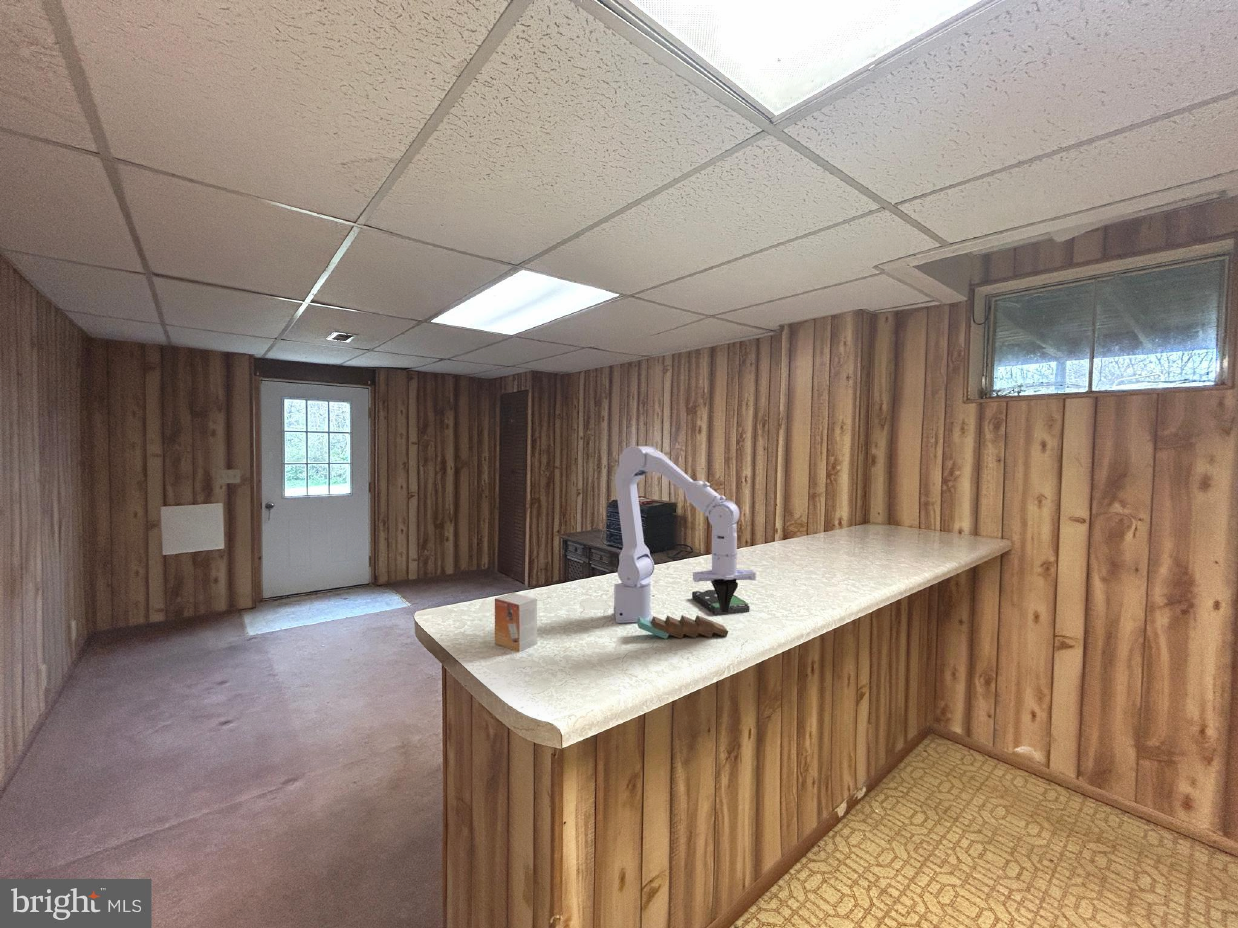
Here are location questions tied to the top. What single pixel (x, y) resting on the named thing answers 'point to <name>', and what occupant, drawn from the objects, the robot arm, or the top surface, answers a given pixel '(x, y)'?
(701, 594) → the disk drive
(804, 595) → the top surface
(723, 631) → the domino
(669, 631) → the domino
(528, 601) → the small box
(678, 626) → the domino
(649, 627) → the teal domino
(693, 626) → the domino
